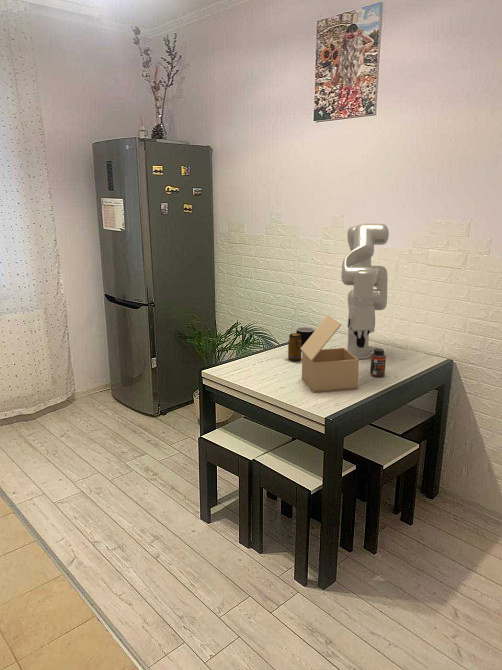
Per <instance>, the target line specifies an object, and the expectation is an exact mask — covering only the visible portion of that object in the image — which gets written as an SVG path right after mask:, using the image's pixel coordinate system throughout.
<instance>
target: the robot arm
mask: <svg viewBox="0 0 502 670" xmlns="http://www.w3.org/2000/svg"><path fill="white" fill-rule="evenodd" d="M346 235H347V243H348V247H349V249H350V251H349V252H348V253H347V254H346V256H345V257H344V258H343V260H342V264H341V282H342V283H343V284H344V285H345V286H353V288H352V289H351V290H349V292H348V294H347V305H348V317H347V323H346V325H347V328H348V329H347V349H346V350H347V351H349V352H350V353H351V354H352V355H354V356H355V357H356V358H357V359H359V360H366V359H371V355H372V353H373V352H374V349H376V348H379V347H378V346H375V347H374V346H373V345H371V346H370V344H369V342H370V341H369V340H370V334H372V333H374V332H375V327H376V311H383V310H385V309H386V308H387V303H388V281H389V280H388V270H387V268H386V267H384V266H382V265H372V257H373V255H374V253H375V246H382V245H383V246H384V245H386V244H387V243H388V240H389V238H390V237H389V236H390V232H389V227H388V226H387V225H386V223H361V224H358V225H354V226H351V227H349V228H348V229H347V234H346ZM374 287H375V288H376V289H375V288H374Z"/></svg>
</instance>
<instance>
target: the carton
mask: <svg viewBox="0 0 502 670" xmlns="http://www.w3.org/2000/svg"><path fill="white" fill-rule="evenodd" d="M347 350H348V349H347V348H345V347H339V348H338V347H337V348H322V349H321V350H320V352H319V353H318V354H317V355H316V357H315V358H314V359H313V360H311V359H310V358H309V357H308V356H307V355H306V354H305V353H304V352H303V351H301V358H302V362H301V379H302V381H304V383H305V384H306V385H307V386H308V388H309V389H310V390H311V392H312V393H323V392H335V391H336V392H337V391H349V390H350V391H351V390H359V389H358V385H359V384H358V383H359V365H360V359H357V358H356V357H355V356H354V355H352V354H351V353H350V352H349V351H347Z"/></svg>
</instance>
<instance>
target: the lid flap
mask: <svg viewBox="0 0 502 670" xmlns="http://www.w3.org/2000/svg"><path fill="white" fill-rule="evenodd" d="M340 327H342V323H340V322H338V321H337V320H336V319H334V318H333V317H332V316H330V315H329V314H328V315H327V316H326V317H325V318H323V320H322V321H321V323H320V324H319V325H318V326H317V327H316V328H315V331H314V332H313V334H312V335H311V336H310V337H309V339H308V340H307V341H306V342H305V343H304V345H303V346H302V347H301V348H300V349H301V350H302V351H303V352H304V353H305V354H306V355H307V356H308V357H309V358H310V359H311V360H313V359H314V358H315V357H316V355H317V354H318V353H319V352H320V350H321V349H324V348H325V346H326V344H327V343H328V342H329V341H330V340H331V338H332V337H333V336H335V334H336V333H337V331H338V330H339V329H340ZM302 351H301V352H302Z"/></svg>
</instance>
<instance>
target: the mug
mask: <svg viewBox="0 0 502 670" xmlns="http://www.w3.org/2000/svg"><path fill="white" fill-rule="evenodd" d="M315 330H316V328H313V327H309V326H300V327H297V328H296V331H295V333H298V334H300V335H301V341H302V346H303V345H304V343H305V342H306V341H307V340H308V339H309V337H310V336H311V335H312V334H313V332H314V331H315ZM302 346H301V347H302ZM301 352H302V350H301Z"/></svg>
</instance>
